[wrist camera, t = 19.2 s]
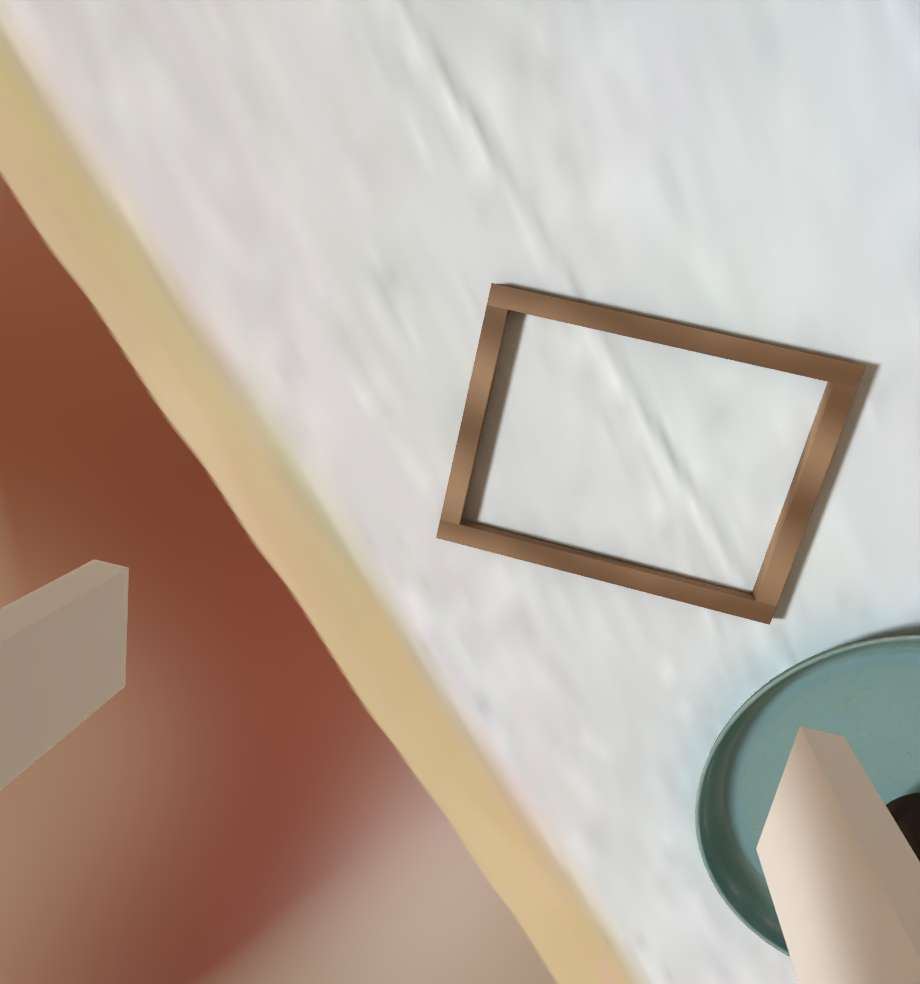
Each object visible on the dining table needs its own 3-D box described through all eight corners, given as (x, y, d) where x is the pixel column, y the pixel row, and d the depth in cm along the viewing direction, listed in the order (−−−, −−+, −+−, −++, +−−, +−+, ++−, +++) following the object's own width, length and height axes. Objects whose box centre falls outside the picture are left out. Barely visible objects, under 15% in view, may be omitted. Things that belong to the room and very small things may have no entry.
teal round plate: (610, 776, 47) (612, 810, 44) (911, 530, 40) (940, 548, 37) (866, 1006, 48) (887, 1054, 45) (1203, 804, 41) (1255, 845, 38)
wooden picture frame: (493, 284, 40) (491, 283, 39) (858, 364, 38) (865, 365, 37) (439, 533, 44) (436, 537, 43) (765, 617, 42) (769, 624, 41)
